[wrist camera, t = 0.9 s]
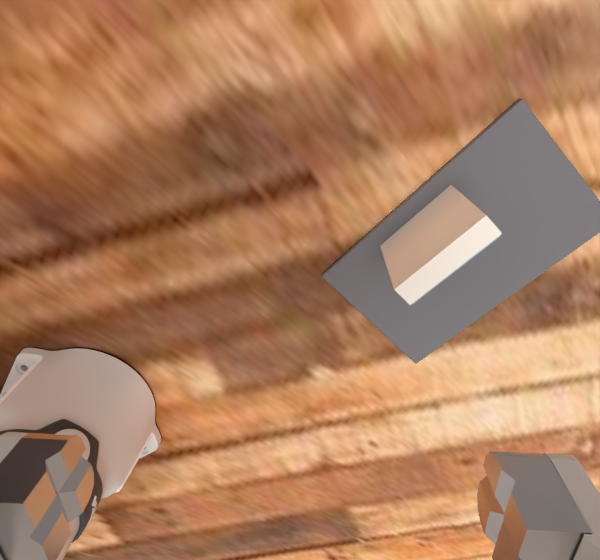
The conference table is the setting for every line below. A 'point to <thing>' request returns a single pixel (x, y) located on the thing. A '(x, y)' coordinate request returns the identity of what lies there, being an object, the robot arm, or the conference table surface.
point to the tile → (436, 244)
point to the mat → (494, 258)
